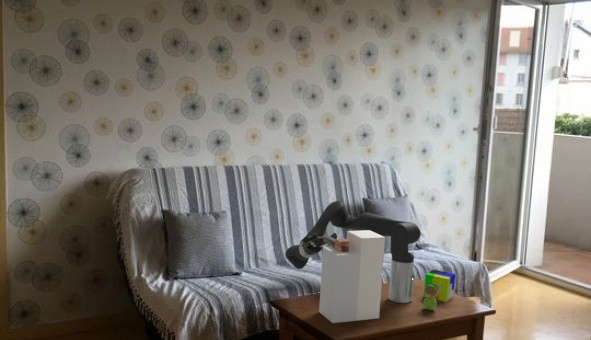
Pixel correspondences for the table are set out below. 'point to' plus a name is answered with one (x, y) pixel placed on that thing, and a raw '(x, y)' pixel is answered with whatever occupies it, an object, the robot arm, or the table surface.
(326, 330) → the table surface
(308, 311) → the table surface
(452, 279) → the puzzle toy
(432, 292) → the snail figurine
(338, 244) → the marker bar
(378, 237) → the step stand
